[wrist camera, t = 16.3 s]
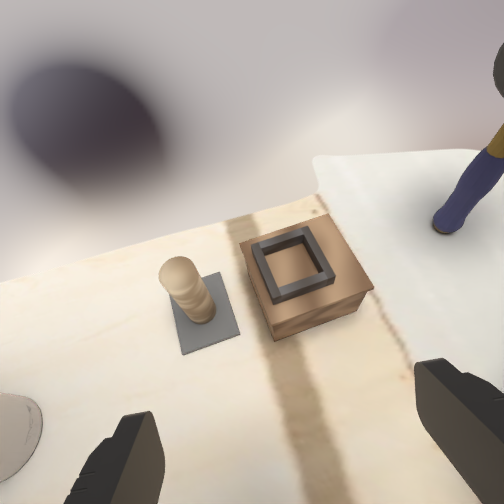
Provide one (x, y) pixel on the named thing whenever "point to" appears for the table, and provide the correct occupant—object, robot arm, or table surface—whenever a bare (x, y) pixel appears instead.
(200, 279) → the wooden cylinder
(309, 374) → the table surface
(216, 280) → the rubber mat
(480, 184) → the rubber mallet
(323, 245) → the wooden box
